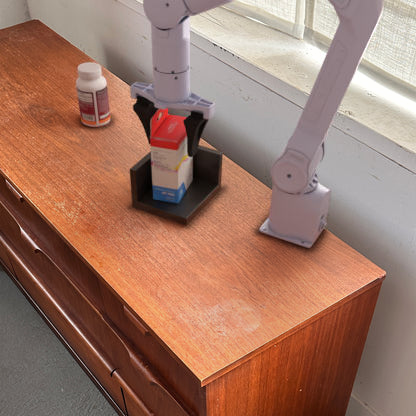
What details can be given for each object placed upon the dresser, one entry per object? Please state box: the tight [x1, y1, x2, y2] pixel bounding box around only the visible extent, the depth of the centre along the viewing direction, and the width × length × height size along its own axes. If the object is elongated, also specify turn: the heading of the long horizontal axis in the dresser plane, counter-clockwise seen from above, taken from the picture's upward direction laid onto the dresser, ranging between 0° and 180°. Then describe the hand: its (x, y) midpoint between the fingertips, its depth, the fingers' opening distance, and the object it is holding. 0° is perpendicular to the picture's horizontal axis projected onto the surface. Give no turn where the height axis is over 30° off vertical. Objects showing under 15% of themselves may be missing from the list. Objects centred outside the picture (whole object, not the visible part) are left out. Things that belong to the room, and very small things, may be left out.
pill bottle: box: [75, 61, 111, 128], centre depth 127 cm, size 6×6×11 cm
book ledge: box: [129, 144, 224, 226], centre depth 110 cm, size 11×13×8 cm
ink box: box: [149, 108, 193, 204], centre depth 107 cm, size 8×5×15 cm, turn 164°
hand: (172, 148), depth 106 cm, fingers open, 7 cm apart
